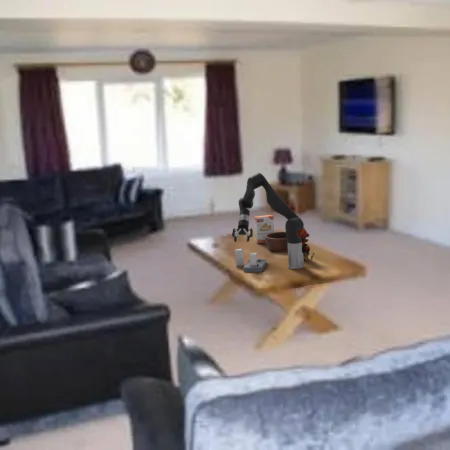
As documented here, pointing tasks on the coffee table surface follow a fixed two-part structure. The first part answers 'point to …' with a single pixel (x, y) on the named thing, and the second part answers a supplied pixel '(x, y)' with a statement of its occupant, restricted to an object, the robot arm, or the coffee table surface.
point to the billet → (239, 257)
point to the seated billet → (253, 260)
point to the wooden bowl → (277, 241)
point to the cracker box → (263, 227)
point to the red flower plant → (304, 244)
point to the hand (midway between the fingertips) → (241, 241)
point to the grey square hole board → (260, 267)
